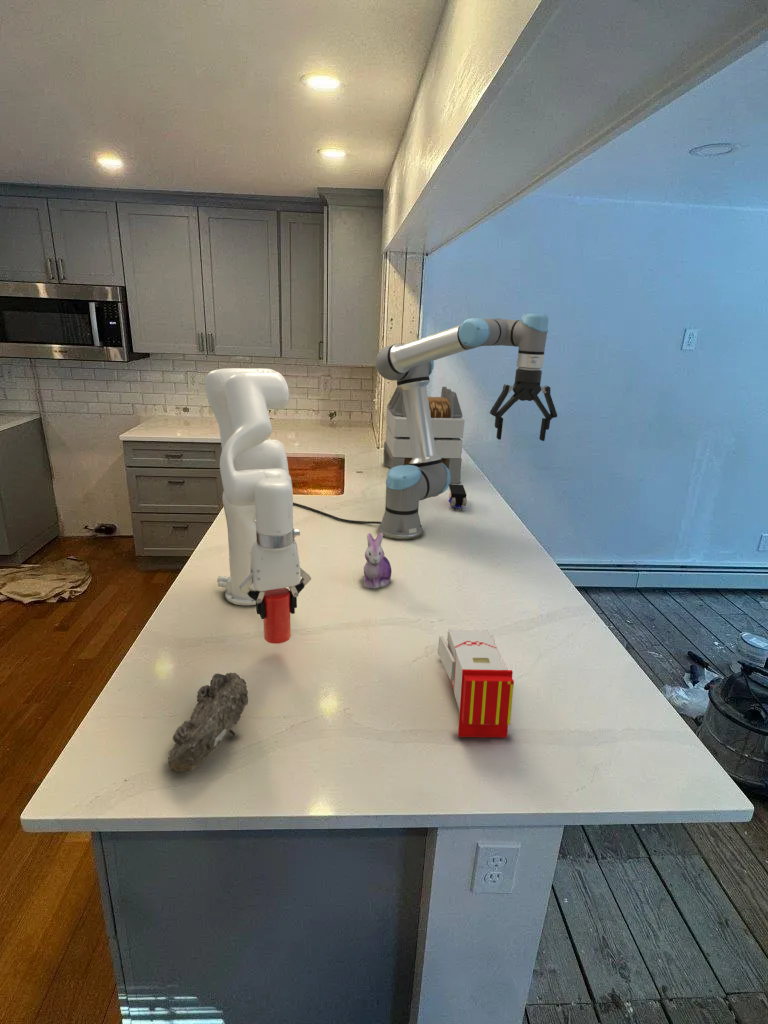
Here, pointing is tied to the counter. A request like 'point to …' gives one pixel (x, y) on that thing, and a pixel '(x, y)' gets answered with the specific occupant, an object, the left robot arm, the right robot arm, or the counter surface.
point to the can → (277, 616)
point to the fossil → (209, 721)
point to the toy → (478, 682)
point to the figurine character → (457, 496)
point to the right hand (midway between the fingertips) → (520, 439)
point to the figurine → (376, 564)
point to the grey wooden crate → (444, 430)
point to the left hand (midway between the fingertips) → (276, 612)
